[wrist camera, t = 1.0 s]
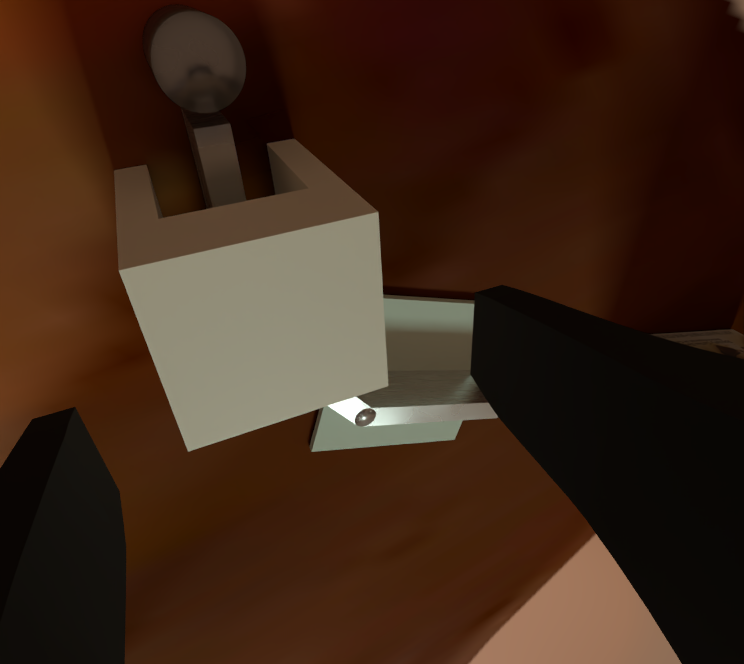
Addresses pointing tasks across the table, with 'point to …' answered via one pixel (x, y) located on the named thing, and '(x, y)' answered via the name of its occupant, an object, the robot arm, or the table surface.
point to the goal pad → (408, 369)
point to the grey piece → (224, 186)
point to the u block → (256, 297)
